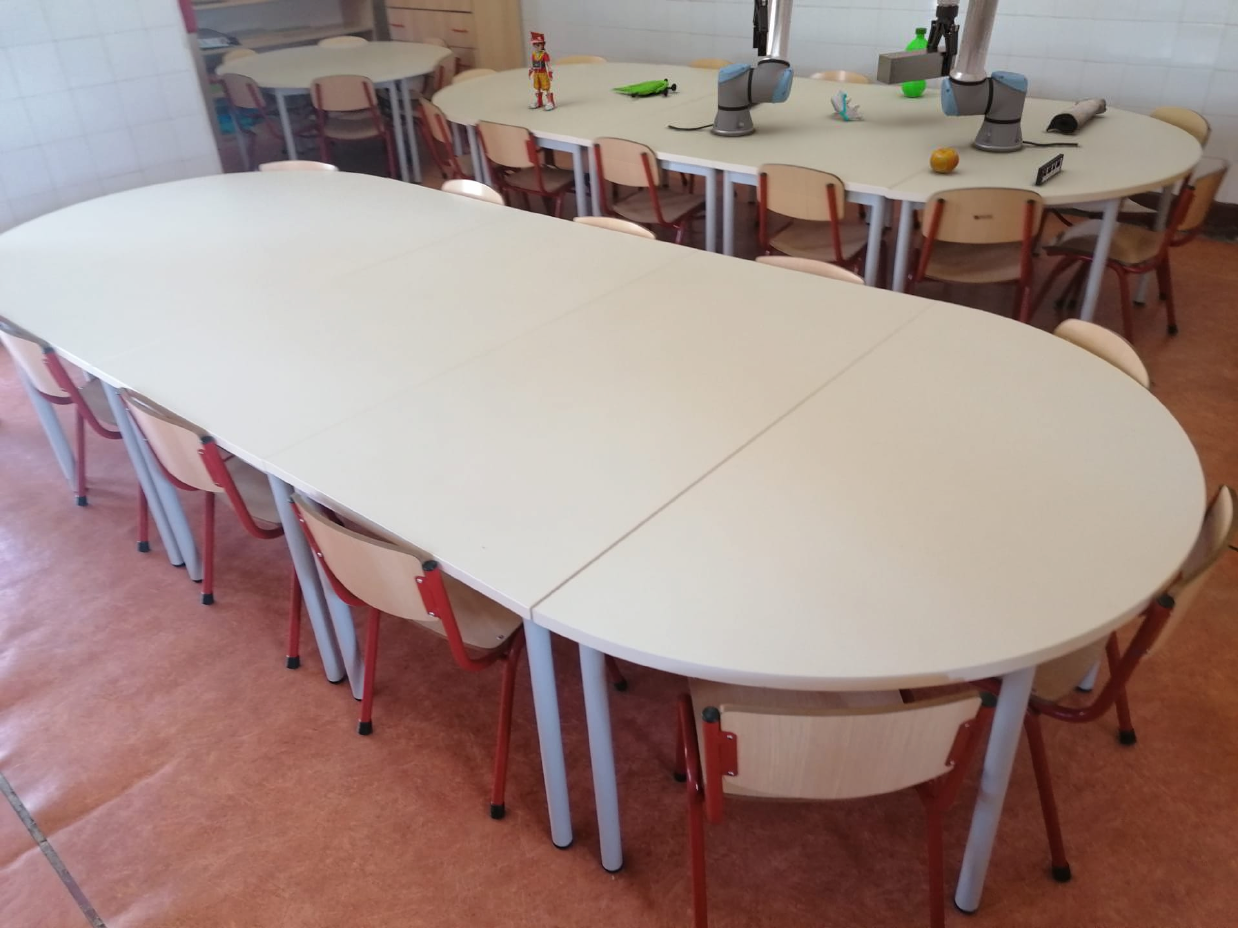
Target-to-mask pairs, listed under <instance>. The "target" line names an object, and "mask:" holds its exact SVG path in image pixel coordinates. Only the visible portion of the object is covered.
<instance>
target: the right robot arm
mask: <svg viewBox="0 0 1238 928" xmlns="http://www.w3.org/2000/svg"><path fill="white" fill-rule="evenodd" d="M960 1H961V0H936V4H937V6H936V8H935V17H936V19H932V20H931V21H930V29H929V34H928V37H927V41H928V42H927V46H926V48H933V47H939V44H940V42H941V40H942V37H943V39H944V46H945V48H946V55H945V57H944V63H943V70H942V76H948V75H949V74H950V75H949V76H948V77H945V78H943V80H942V81H941V86H940V104H941V105H940V106H941V110H942V113H943V114H944V115H945V116H947V117H956V118H958V117H968V116H970V117H971V116H983V120H982V121H983V122H982V124H981V126H980V128H979V130H978V132H977V133H976V135H975V138H974V141H973V147H975V148H976V149H978V150H980V151H985V152H991V153H992V152H993V153H1010V152H1015V151H1019V150H1021V149H1022V147H1023V145H1024V144H1025V145H1030V146H1036V147H1051V146H1071V147H1072V146H1073V147H1074V146H1075V147H1077V146H1078V145H1079V143H1078V142H1049V143H1037V142H1033V141H1028V140H1023V133H1022V126H1021V125H1022V124H1021V122H1022V118H1023V112H1024V108H1025V102H1026V98H1027V93H1028V86H1029V79H1028V77H1026V76H1025V75H1024V74H1021V73H1018V72H1013V71H1006V70H997V71H996V70H995V71H992V72H991V74H990V76H988V72H987V71H986V70H985V66H986V65H985V64H986V60H987V55H988V51H989V46H990V42H991V37H992V32H993V29H994V24H995V20H996V19H995V18H996V15H997V10H998V5H999V1H1000V0H968V5H967V9H966V14H965V20H964V24H963V30H962V34H961V40H960V45H959V31H960V27H961V25H960V24H956V23H955V19H956V18H957V17H958V15H959V8H960V7H959V4H960ZM930 44H931V45H930ZM958 48H959V49H958ZM949 52H950V53H949ZM955 55H956V56H957V58H956V63H955V66H954V69H952V70H951V71H950V67H951V64H952V58H953V56H955Z"/></svg>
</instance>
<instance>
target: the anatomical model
mask: <svg viewBox="0 0 1238 928" xmlns="http://www.w3.org/2000/svg"><path fill="white" fill-rule="evenodd" d="M847 97H848V95H847V92H845V91H844V90H842V89H841V90H839V93H837V95H833V96H831V97H830V103H831V106H832V107H833V110H834V111H835V112H836V113H839V114H840V115H841V117H842V119H843V120H844V121H851V120H856V119H857V120H858V119H860V120H861V119H863V118H864V115H863V114H859V113H858V110H859V108H860V106H861V104H856V105H854V106H850V105H849V104H850V102H851V101H852V98H848V99H847Z"/></svg>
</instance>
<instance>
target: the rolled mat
mask: <svg viewBox="0 0 1238 928" xmlns="http://www.w3.org/2000/svg"><path fill="white" fill-rule="evenodd" d="M1107 110H1108V109H1107V101H1106V99H1105V98H1098V97H1091V98H1087V99H1079V100H1078V101H1076V102H1075V104H1074V105H1072V106H1071V107H1068V108H1067V109H1065V110H1063V111H1061V112H1059V113H1058V114H1056V115H1054V116H1053V117H1052V119H1050V122H1049V124H1048V126H1047V127H1046V129H1045V132H1049V131H1051V130H1057V131H1058V132H1059V133H1062V134H1065V135H1066V134H1067V135H1073V134H1074V133H1076V132H1077V131H1078V130H1079V129H1080V128H1081V127H1082V126H1083V125H1084V124H1085V123H1086V122H1087V121H1088V120H1089V119H1091V118H1092V117H1094V116H1096V115H1102V114H1104V113H1106V112H1107Z"/></svg>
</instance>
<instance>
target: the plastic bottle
mask: <svg viewBox="0 0 1238 928" xmlns="http://www.w3.org/2000/svg"><path fill="white" fill-rule="evenodd" d="M927 30H928V28H927V27H916V28H915V32H914V34H915V38H914V39H913V40H911V41H910V42H909V43H908V44H907V46H906V47H905V50H904V51H910V50H917V49H925V48H926V46H927V42H928V39H926V38H925V35H926V34H927V32H928V31H927ZM930 45H931V44H930ZM926 88H927V79H926V80H919V81H912V82H905V83H901V91H902V92H903V94H904V95H906V96H905V97H908V98H917V97H920V96H921V95H922V94H923V93H924V92H925V90H926Z"/></svg>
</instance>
